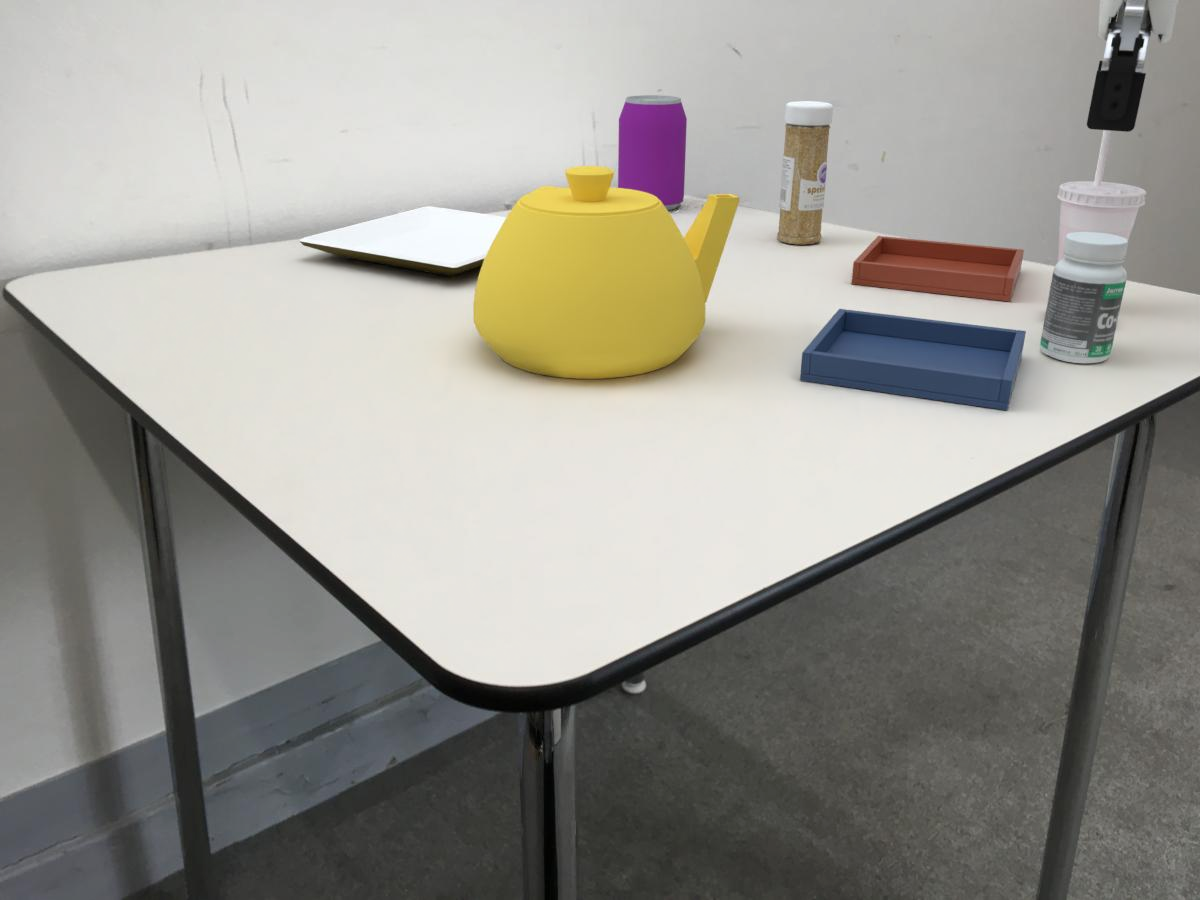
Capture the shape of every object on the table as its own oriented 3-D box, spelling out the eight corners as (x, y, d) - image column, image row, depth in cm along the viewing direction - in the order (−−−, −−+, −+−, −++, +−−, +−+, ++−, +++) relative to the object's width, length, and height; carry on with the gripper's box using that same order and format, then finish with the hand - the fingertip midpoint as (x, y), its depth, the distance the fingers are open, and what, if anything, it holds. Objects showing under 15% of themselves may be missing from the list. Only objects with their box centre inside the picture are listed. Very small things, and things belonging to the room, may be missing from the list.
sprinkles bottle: (818, 247, 108) (830, 106, 103) (772, 243, 109) (782, 104, 104) (823, 237, 112) (836, 101, 107) (779, 234, 113) (789, 99, 108)
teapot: (525, 401, 69) (520, 198, 64) (435, 321, 85) (425, 153, 80) (789, 359, 77) (804, 175, 72) (662, 293, 93) (667, 138, 87)
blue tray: (1021, 357, 78) (1025, 330, 77) (1007, 410, 68) (1012, 380, 67) (836, 333, 82) (839, 308, 82) (799, 380, 73) (802, 352, 72)
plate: (299, 260, 102) (296, 238, 101) (428, 224, 117) (427, 205, 116) (456, 289, 93) (454, 265, 92) (574, 246, 108) (574, 225, 107)
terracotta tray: (1020, 271, 100) (1024, 249, 99) (1009, 301, 91) (1013, 278, 90) (875, 256, 105) (877, 235, 104) (851, 284, 96) (853, 261, 95)
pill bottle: (1094, 369, 75) (1119, 248, 72) (1027, 354, 78) (1048, 237, 75) (1120, 354, 78) (1144, 237, 75) (1054, 339, 81) (1075, 227, 78)
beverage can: (688, 201, 129) (692, 95, 124) (677, 214, 122) (681, 102, 118) (625, 198, 131) (627, 93, 126) (611, 211, 124) (612, 100, 119)
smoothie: (1077, 293, 93) (1108, 123, 88) (1140, 313, 88) (1178, 133, 82) (1021, 302, 91) (1050, 127, 85) (1083, 322, 85) (1118, 138, 80)
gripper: (1231, -142, 68) (1167, 141, 75) (1212, -123, 82) (1160, 112, 89) (1101, -140, 71) (1051, 132, 78) (1105, -123, 85) (1063, 106, 92)
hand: (1110, 121), depth 84 cm, fingers open, 9 cm apart
